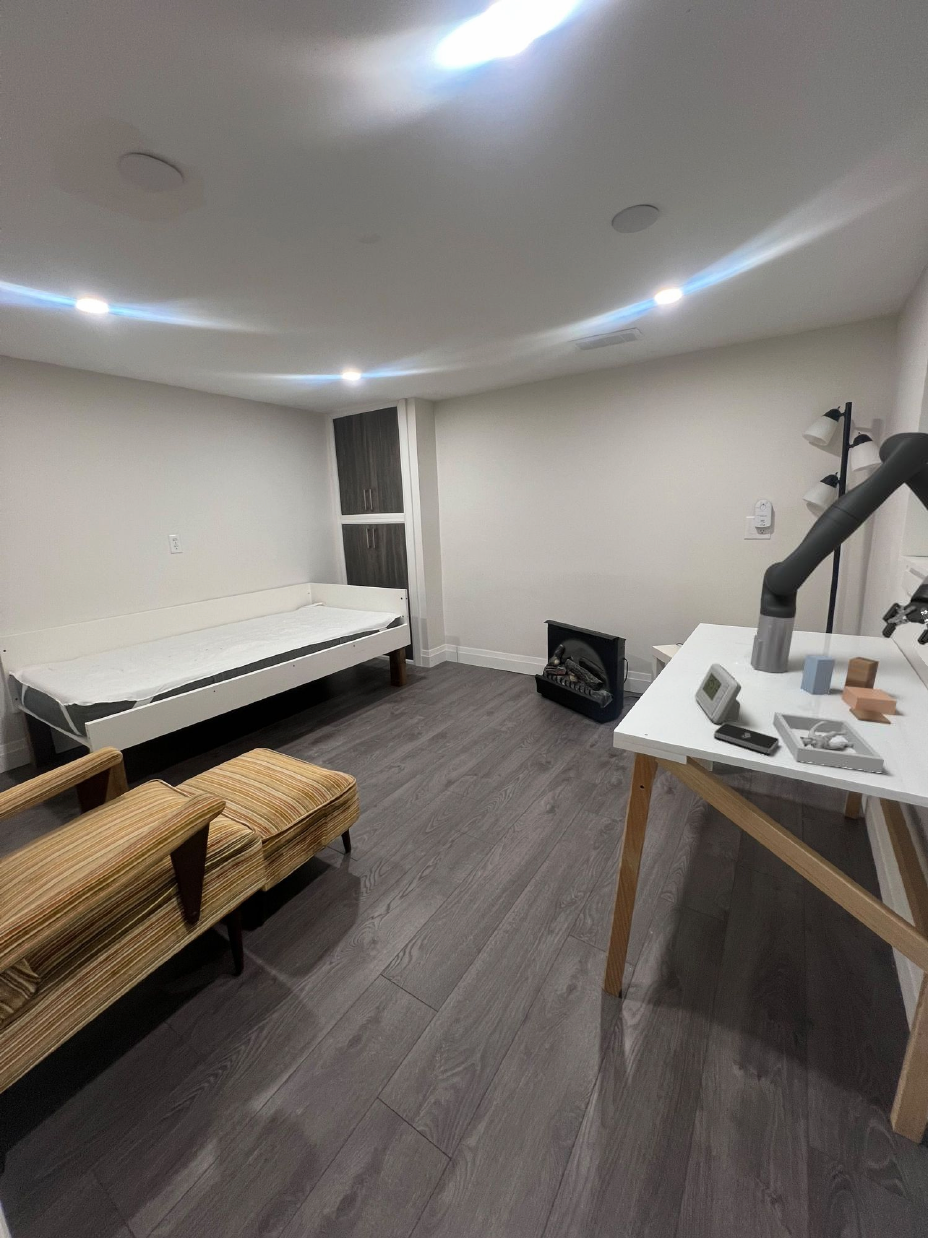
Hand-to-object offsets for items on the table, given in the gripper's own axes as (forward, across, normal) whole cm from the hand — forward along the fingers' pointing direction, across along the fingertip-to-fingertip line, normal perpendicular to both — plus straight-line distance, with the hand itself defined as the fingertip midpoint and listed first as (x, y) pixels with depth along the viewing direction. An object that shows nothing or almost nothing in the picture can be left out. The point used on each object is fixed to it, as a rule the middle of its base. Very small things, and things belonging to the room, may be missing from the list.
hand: (902, 639), depth 130 cm
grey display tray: (+42, +19, -29) cm, 55 cm away
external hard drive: (+51, +14, -40) cm, 66 cm away
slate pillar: (+24, -6, -8) cm, 26 cm away
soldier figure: (+42, +20, -28) cm, 55 cm away
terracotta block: (+23, +6, -5) cm, 24 cm away
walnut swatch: (+26, +11, -9) cm, 30 cm away
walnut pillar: (+19, -1, -1) cm, 19 cm away
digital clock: (+47, -1, -36) cm, 60 cm away
